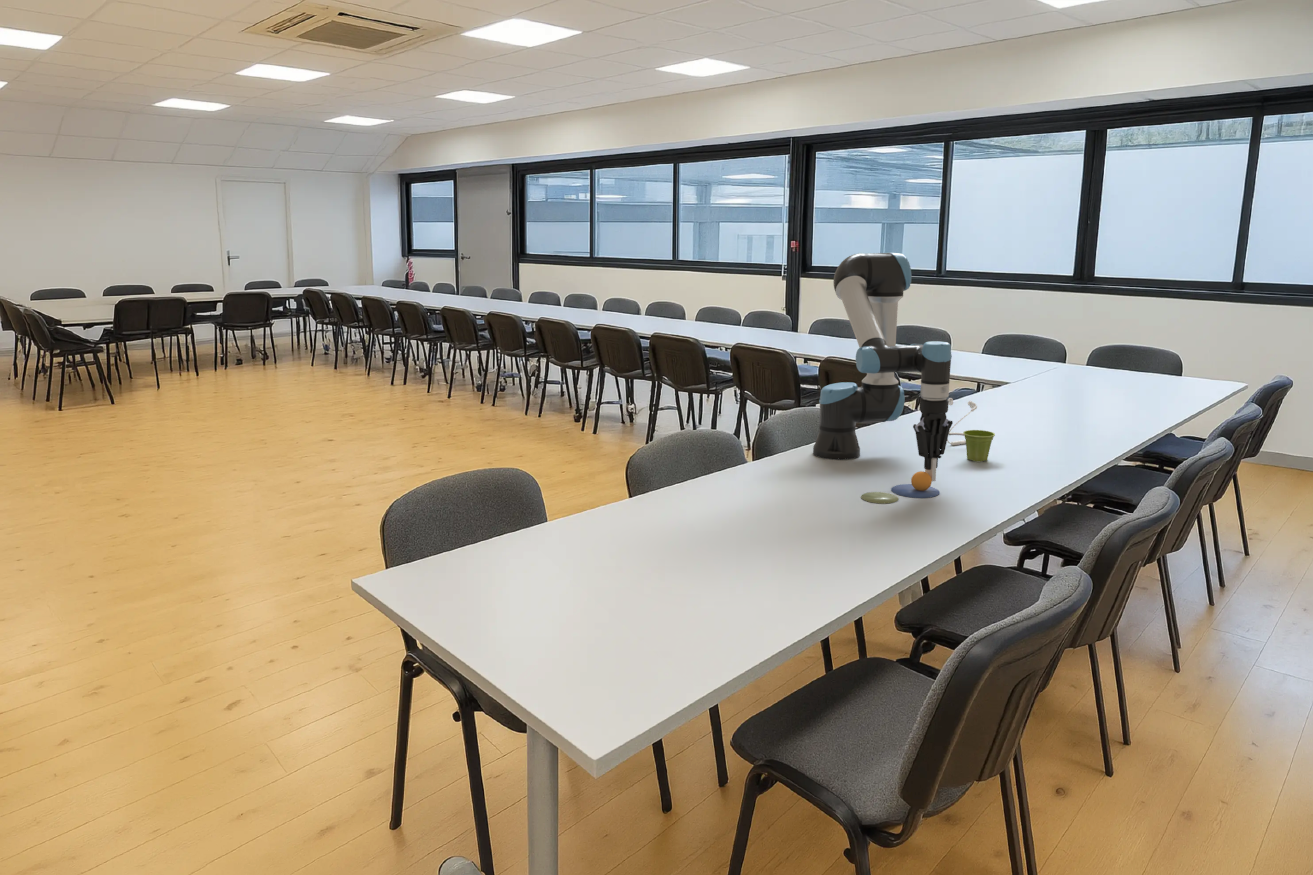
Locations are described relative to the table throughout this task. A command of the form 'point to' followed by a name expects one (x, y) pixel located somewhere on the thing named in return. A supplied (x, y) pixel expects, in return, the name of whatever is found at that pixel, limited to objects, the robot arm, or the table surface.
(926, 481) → the ball
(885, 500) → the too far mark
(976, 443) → the plant pot
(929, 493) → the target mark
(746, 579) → the table surface
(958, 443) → the earphone
